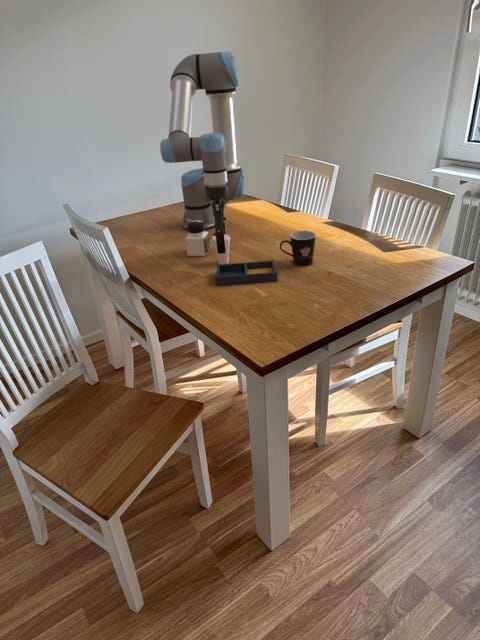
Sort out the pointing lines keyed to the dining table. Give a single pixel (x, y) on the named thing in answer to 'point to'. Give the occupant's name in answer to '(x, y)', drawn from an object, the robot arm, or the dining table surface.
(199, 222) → the medicine bottle
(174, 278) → the dining table surface
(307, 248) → the coffee mug
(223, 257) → the smoothie
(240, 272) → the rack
